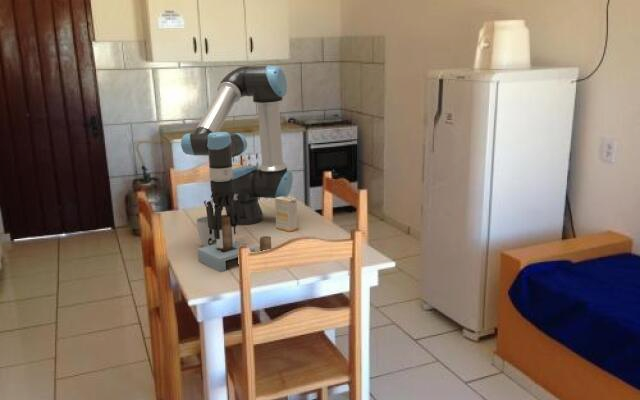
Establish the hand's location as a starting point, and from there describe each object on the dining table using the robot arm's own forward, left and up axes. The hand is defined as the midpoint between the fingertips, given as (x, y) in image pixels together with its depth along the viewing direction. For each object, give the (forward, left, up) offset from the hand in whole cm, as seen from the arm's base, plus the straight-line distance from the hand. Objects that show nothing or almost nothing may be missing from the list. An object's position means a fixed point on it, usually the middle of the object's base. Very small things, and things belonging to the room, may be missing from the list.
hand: (225, 245), depth 191 cm
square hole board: (0, 0, -6) cm, 6 cm away
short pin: (+4, +14, -6) cm, 16 cm away
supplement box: (-13, +38, -6) cm, 41 cm away
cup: (-19, +5, -6) cm, 20 cm away
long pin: (0, 0, -4) cm, 4 cm away
